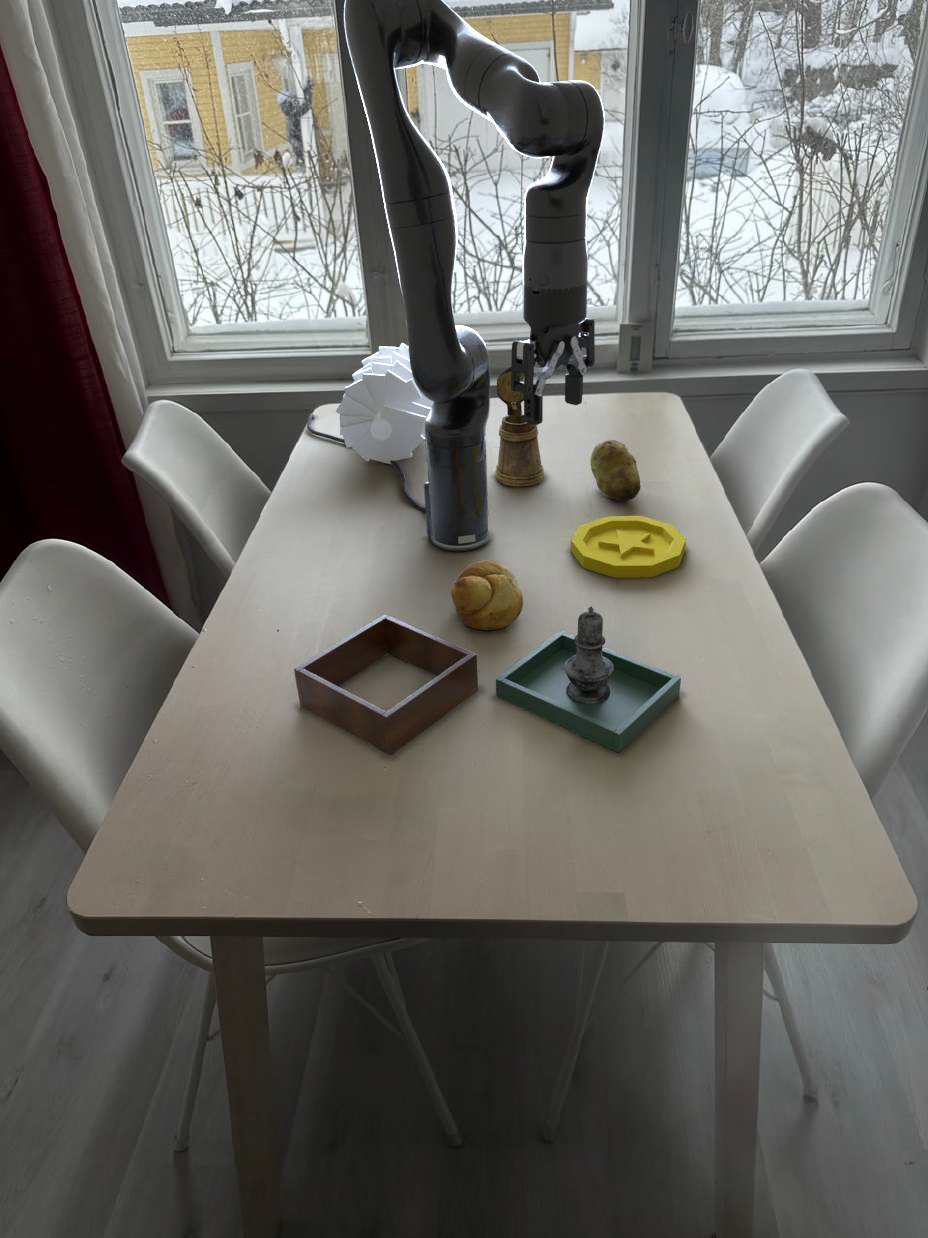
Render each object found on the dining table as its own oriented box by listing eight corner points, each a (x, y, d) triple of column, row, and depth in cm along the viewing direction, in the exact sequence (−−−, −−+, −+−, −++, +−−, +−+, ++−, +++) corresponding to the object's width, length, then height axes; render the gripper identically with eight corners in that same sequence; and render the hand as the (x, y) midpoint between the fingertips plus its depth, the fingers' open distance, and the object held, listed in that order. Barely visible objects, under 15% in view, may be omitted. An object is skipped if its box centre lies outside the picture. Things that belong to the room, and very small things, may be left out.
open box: (299, 705, 113) (293, 668, 111) (388, 648, 123) (385, 613, 120) (390, 756, 105) (386, 717, 102) (478, 690, 114) (477, 653, 112)
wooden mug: (535, 457, 178) (535, 364, 169) (548, 484, 167) (548, 386, 157) (489, 460, 178) (487, 367, 168) (499, 488, 166) (496, 390, 157)
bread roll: (455, 589, 136) (453, 541, 132) (522, 588, 135) (521, 539, 131) (451, 637, 125) (448, 586, 121) (523, 636, 124) (523, 584, 120)
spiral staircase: (364, 488, 179) (382, 435, 199) (443, 451, 173) (454, 400, 194) (312, 408, 170) (337, 361, 191) (394, 365, 164) (411, 322, 185)
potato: (591, 506, 158) (593, 462, 154) (588, 476, 169) (590, 434, 165) (640, 506, 157) (643, 462, 153) (634, 476, 168) (637, 434, 164)
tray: (495, 696, 113) (495, 679, 112) (560, 646, 122) (560, 630, 121) (618, 753, 103) (619, 734, 102) (679, 695, 112) (681, 677, 111)
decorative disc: (608, 517, 154) (608, 506, 153) (704, 545, 144) (705, 534, 143) (550, 556, 143) (550, 545, 142) (650, 589, 134) (650, 577, 133)
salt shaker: (610, 707, 109) (615, 621, 103) (561, 703, 111) (562, 618, 104) (614, 679, 114) (618, 595, 108) (566, 675, 115) (568, 592, 109)
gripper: (563, 264, 115) (562, 392, 123) (491, 287, 106) (495, 424, 114) (615, 270, 110) (610, 403, 119) (544, 295, 101) (544, 436, 110)
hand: (553, 413), depth 116 cm, fingers open, 8 cm apart
